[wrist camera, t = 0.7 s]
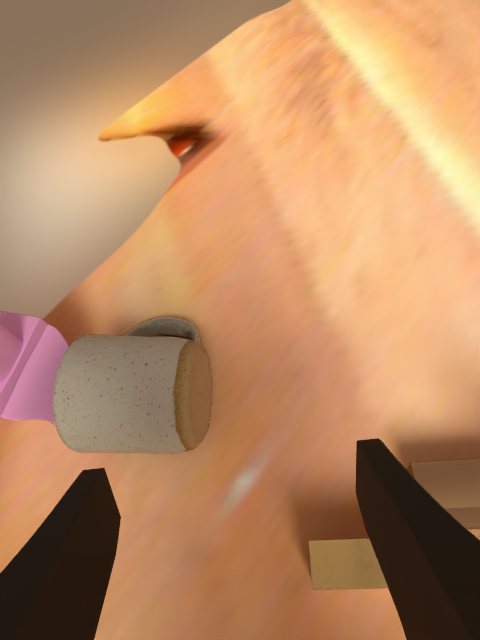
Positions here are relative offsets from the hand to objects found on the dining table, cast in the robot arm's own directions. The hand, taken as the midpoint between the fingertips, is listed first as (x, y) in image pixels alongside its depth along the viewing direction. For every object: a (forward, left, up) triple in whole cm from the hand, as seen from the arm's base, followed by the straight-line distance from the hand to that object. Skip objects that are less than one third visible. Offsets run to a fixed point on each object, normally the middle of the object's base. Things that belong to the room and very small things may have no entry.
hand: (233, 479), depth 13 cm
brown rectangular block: (-2, -5, -16) cm, 17 cm away
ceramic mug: (+9, +9, -16) cm, 21 cm away
